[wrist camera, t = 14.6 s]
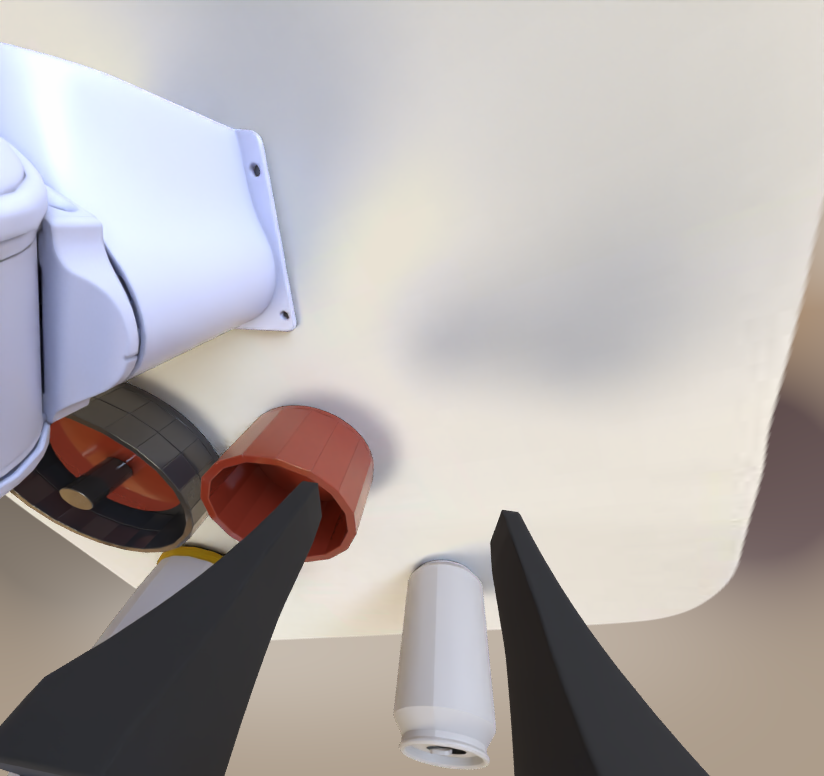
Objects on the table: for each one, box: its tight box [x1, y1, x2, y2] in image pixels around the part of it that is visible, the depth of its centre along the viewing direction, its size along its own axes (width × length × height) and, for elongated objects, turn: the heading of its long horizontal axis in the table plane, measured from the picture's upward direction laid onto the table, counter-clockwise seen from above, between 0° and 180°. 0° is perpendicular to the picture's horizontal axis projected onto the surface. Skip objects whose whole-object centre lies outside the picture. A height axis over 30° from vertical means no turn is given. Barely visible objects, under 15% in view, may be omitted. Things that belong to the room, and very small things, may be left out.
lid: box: [50, 417, 180, 511], centre depth 24 cm, size 11×11×4 cm
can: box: [393, 560, 496, 769], centre depth 25 cm, size 8×8×12 cm
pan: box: [10, 382, 219, 553], centre depth 24 cm, size 16×16×4 cm
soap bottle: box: [8, 546, 223, 776], centre depth 24 cm, size 11×12×26 cm
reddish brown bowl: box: [200, 405, 374, 562], centre depth 21 cm, size 10×10×5 cm
